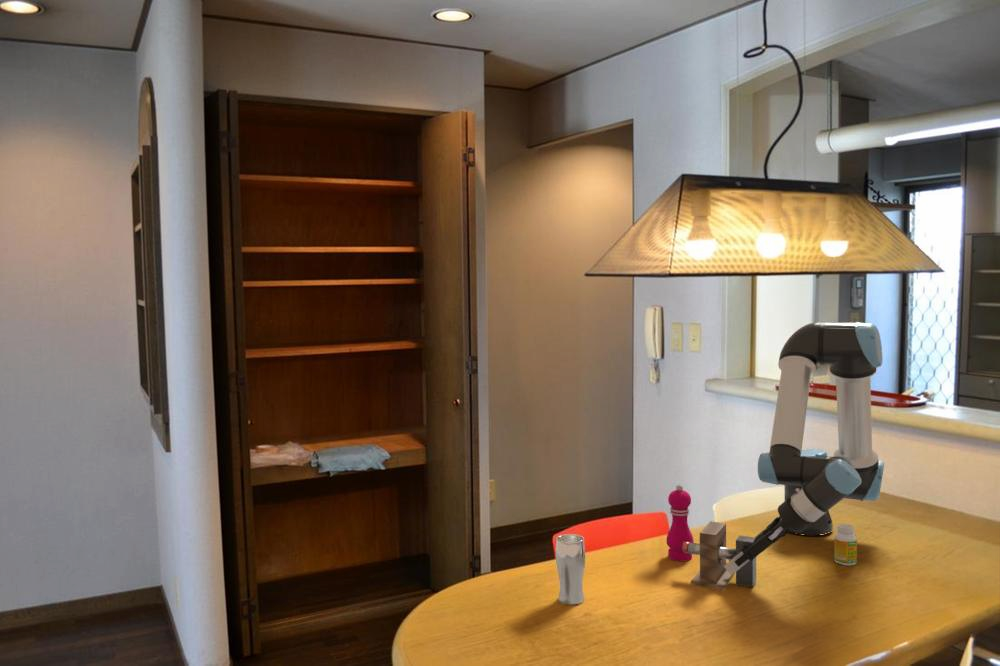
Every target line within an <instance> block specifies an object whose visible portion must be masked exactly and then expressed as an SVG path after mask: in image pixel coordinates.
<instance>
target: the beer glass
mask: <svg viewBox="0 0 1000 666" xmlns="http://www.w3.org/2000/svg"><path fill="white" fill-rule="evenodd" d="M555 540H556V541H555V543H556V544H555V563H556V569H557V574H558V580H559V594H558V601H559V602H560V603H561V604H562V603H564V604H563V605H565V604H570V605H569V606H576V605H575V604H578V605H580V603H581V604H583V603H584V602H583V601H585V595H584V591H583V580H584V573H585V568H586V566H585V565H586V546H585V537H584V536H582V535H580V534H576V533H575V534H574V533H565V534H560V535H558V536H556V539H555ZM582 602H583V603H582ZM573 604H574V605H573Z"/></svg>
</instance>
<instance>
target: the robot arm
mask: <svg viewBox="0 0 1000 666" xmlns="http://www.w3.org/2000/svg"><path fill="white" fill-rule="evenodd" d="M882 346H883V345H882V341H881V335H880V332H879V329H878V327H877V326H876V325H875V324H873V323H870V322H860V321H856V322H821V321H820V322H819V321H816V322H810V323H808V324H805V325H804V326H802V327H800V328H798V329H796V331H794V333H793V334H792V335H790V336H789V338H788V339H787V341H786V342H785V343H784V344H783V347H782V348H781V351H780V355H779V359H778V364H777V365H778V369H779V370H780V377H779V384H778V391H777V399H776V405H775V411H774V417H773V426H772V432H771V439H770V445H769V452H761V453H760V455H759V457H758V461H757V476H758V479H759V481H761V482H762V483H766V484H772V485H777V486H779V485H780V486H781V485H783V486H784V501H783V502H782V503H781V504H779V505H778V507H777V513H778V515H779V516H777V517H776V518H774V519H773V520H772V522H771V523H769V524H768V525H767V526H766V527H765V528H764V529H763V530H762V531H761V532H759V533H758V534H757V535H755V538H756V541H755V542H754V543H753V544H751V545H750V546H749V547H748V548H747V549H745V550H744V549H743V548H742V549H741V552H740V553H739V554H738V555H737V556H735V557H734V558H733V559H732V560H728V561H727V562H726V564H725V565H724V568H725V569H726V570H727V571H728V572H729V573H730V574H731V575H732V574H734V573H735V574H736V571H737V570H739V569H740V568H741V567H742V566H744V565H745V564H746V563H747V562H749V561H752V560H753V559H754V558H755V557H756V558H757V557H759V555H760V554H762V553H763V552H764V551H765V550H766V549H769V547H771V546H772V545H773V544H775V543H776V542H777V541H779V540H780V539H781V538H784V537H785V536H786V535H787V534H788V532H792V533H797V534H804V535H820V534H825V533H828V532H831V531H832V530H833V531H834V527H833V526H834V524H833V519H832V517H831V514H830V511H829V510H831V508H833V507H834V506H836V505H837V504H838V503H840V502H841V501H842V500H843V499H850V500H857V501H861V502H864V501H865V502H875V501H877V500H879V497H880V495H881V488H882V481H883V474H884V467H885V462H884V461H883V460H881V459H879V455H878V453H877V452H876V451H875V450H874V449H873V437H872V436H873V434H872V428H873V427H872V394H871V393H872V391H871V388H872V387H871V378H872V376H874V375H875V374H876V373H877V368H880V367H882V365H883V352H882V351H883V347H882ZM819 365H820V366H829V373H830V374H831V375H832V376H834V377H835V383H836V387H835V388H836V389H835V390H836V406H837V407H836V411H837V414H836V415H837V431H838V433H837V435H838V448H837V449H836V450H835V451H834V453H833V456H829V455H828V452H827V451H826V450H824V449H819V448H809V449H808V448H806V449H802V448H803V441H804V433H805V426H806V425H805V424H806V417H807V410H808V403H809V402H808V401H809V394H810V386H811V378H812V377H811V376H812V374H814V373H815V372H816V370H817V366H819ZM833 531H832V532H833ZM735 574H734V575H735Z"/></svg>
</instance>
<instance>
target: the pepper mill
mask: <svg viewBox="0 0 1000 666" xmlns="http://www.w3.org/2000/svg"><path fill="white" fill-rule="evenodd" d="M675 488H676V489H675V490H673V491H671V492H670V493H669V495H668V499H667V500H668V504H669V505H670V506H671V507H670V508H669V510H670V514H671V517H672V520H671V525H670V528H669V530H668V532H667V535H666V540H665V541H666V545H667V546H668V547H669V549H668V554H667V555H668V558H669V559H670V560H673V561H676V562H677V561H678V562H688V561H690V560H692V559H693V554H689V553H683V551H682V546H683V542H684V541H685V542H692V543H695V542H694V536H693V534H692V531H691V529H690V527H689V523H688V517H689V516H688V515H689V514H690V508H689V507H690V505H691V504H692V497H691V495H690V494H689V493H690V492H689V493H688V491H686V490H683V489H684V487H683V485H682V484H677V485H676V487H675ZM687 560H688V561H687Z"/></svg>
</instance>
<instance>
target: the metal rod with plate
mask: <svg viewBox="0 0 1000 666" xmlns="http://www.w3.org/2000/svg"><path fill="white" fill-rule="evenodd" d="M755 537H756V536H755ZM755 537H753V536H747V535H746V536H745V535H738V537H737V538H736V539H735V548H732V547H726V548H725V547H719V558H721V559H726V560H728V561H729V560H732V559H733V558H734V557H735V556H737V555H738V554H739V553H740V552H741V549H742V548H743V549H744V550H745V549H747V548H748V547H749V546H750V545H751V544H753V543H754V542H755V541H756V538H755ZM682 551H683V553H689V554H692V555H695V556H696V555H698V556H700V542H699V543H698V542H694V543H692V542H685V541H684V542H683V546H682ZM756 582H757V556H756V557H755V558H754V559H753V560H752V561H749V562H747V563H746V564H745V565H744V566H742V567H741V568H740V569H739V570H737V571H736V572H735V584H736V585H738V586H745V587H751V588H753V587H754V585H755V584H756Z"/></svg>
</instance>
